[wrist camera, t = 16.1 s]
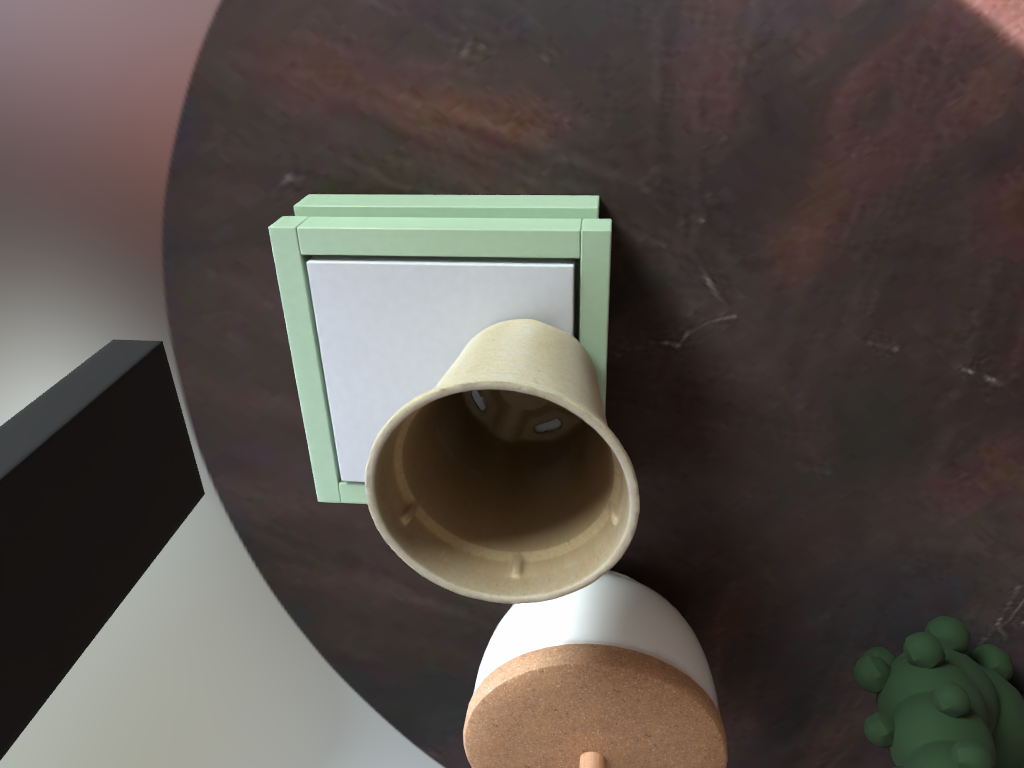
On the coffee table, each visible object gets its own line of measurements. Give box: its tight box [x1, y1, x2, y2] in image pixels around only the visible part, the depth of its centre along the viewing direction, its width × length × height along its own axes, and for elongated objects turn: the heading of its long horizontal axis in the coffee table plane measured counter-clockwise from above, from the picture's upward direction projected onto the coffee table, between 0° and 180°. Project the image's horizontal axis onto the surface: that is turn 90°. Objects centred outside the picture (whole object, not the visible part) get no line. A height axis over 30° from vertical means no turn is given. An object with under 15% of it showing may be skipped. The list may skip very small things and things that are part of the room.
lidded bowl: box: [463, 570, 728, 768], centre depth 40 cm, size 13×13×11 cm
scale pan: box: [307, 255, 576, 482], centre depth 35 cm, size 11×11×2 cm
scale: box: [269, 194, 612, 504], centre depth 36 cm, size 15×14×4 cm
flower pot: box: [365, 319, 640, 604], centre depth 30 cm, size 9×9×9 cm
